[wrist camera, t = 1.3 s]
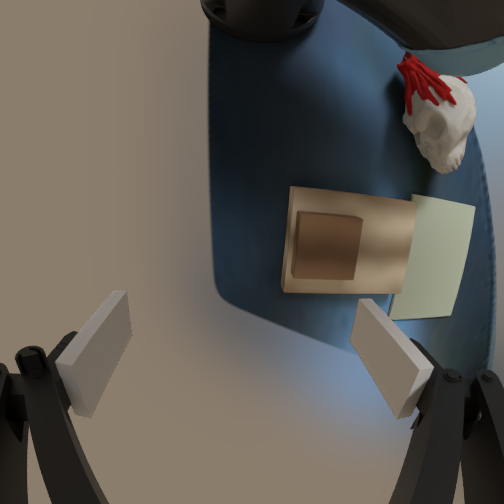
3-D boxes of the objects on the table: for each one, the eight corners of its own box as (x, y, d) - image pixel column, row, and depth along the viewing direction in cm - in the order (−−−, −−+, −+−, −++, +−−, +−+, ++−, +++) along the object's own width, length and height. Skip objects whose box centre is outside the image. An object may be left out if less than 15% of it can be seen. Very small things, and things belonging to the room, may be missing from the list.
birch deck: (290, 185, 33) (294, 187, 31) (407, 200, 35) (417, 203, 32) (280, 284, 37) (283, 292, 34) (392, 286, 38) (400, 293, 36)
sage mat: (411, 193, 35) (413, 194, 34) (473, 206, 36) (475, 206, 35) (387, 318, 39) (388, 320, 39) (448, 314, 40) (450, 315, 40)
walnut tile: (297, 210, 32) (301, 213, 30) (356, 216, 32) (363, 219, 30) (290, 272, 34) (293, 278, 32) (347, 274, 34) (353, 280, 32)
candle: (423, 177, 34) (358, 83, 32) (468, 138, 32) (410, 52, 30) (463, 175, 25) (384, 55, 23) (507, 131, 23) (440, 27, 21)
